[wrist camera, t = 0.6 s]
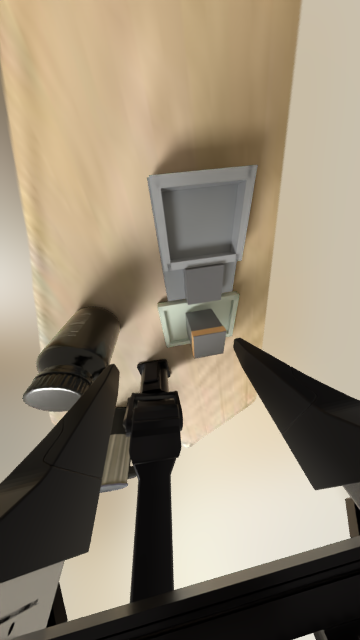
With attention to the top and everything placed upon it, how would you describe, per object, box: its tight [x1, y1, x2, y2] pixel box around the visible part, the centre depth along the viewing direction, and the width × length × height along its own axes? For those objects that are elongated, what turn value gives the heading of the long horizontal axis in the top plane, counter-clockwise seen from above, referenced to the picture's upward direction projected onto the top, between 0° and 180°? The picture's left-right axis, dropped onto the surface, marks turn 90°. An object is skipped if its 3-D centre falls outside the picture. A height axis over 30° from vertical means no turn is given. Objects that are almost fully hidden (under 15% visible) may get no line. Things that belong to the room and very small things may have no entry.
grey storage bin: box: [147, 165, 258, 305], centre depth 16 cm, size 12×10×4 cm
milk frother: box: [100, 408, 137, 493], centre depth 34 cm, size 14×16×15 cm
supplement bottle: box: [23, 307, 120, 412], centre depth 17 cm, size 7×7×12 cm
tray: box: [158, 291, 240, 348], centre depth 24 cm, size 9×13×1 cm
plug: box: [185, 309, 226, 359], centre depth 21 cm, size 5×5×6 cm
